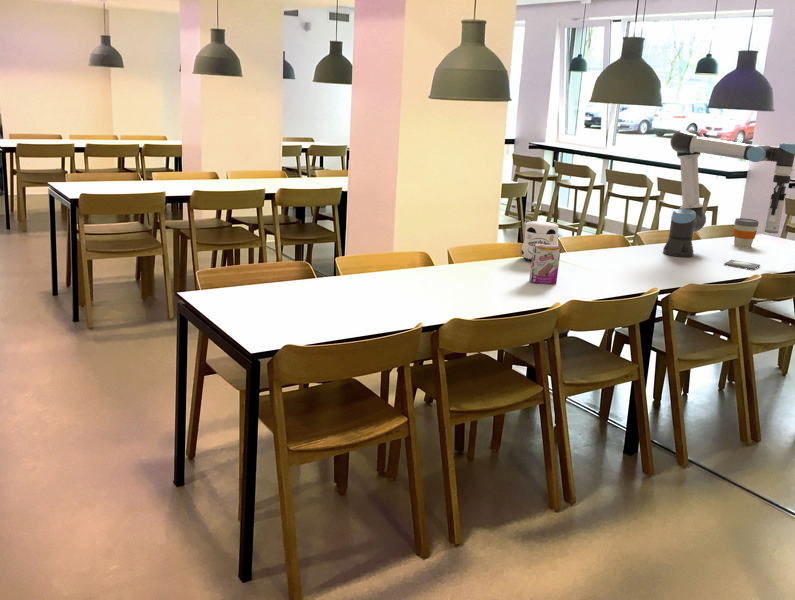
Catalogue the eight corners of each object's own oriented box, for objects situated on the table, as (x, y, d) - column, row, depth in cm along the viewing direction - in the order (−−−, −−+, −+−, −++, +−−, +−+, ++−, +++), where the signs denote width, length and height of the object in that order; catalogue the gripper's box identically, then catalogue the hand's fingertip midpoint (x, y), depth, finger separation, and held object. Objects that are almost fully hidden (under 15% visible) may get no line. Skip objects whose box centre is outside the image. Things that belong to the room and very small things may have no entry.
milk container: (532, 265, 362) (536, 227, 357) (514, 257, 378) (517, 221, 373) (563, 263, 369) (567, 227, 364) (544, 256, 384) (548, 220, 379)
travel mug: (777, 234, 383) (784, 194, 378) (763, 232, 387) (770, 192, 381) (779, 232, 388) (787, 193, 383) (765, 230, 392) (773, 191, 386)
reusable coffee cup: (725, 243, 444) (730, 218, 440) (743, 243, 448) (748, 218, 444) (741, 248, 433) (745, 222, 429) (759, 248, 437) (764, 222, 432)
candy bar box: (531, 283, 328) (535, 246, 323) (528, 280, 332) (532, 243, 328) (557, 284, 328) (561, 247, 324) (554, 281, 333) (558, 244, 328)
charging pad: (724, 265, 386) (724, 262, 386) (731, 261, 395) (731, 259, 395) (753, 270, 378) (753, 267, 377) (760, 266, 387) (760, 264, 386)
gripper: (786, 176, 370) (776, 223, 376) (795, 174, 385) (786, 220, 391) (769, 175, 374) (760, 221, 381) (779, 172, 389) (770, 217, 395)
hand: (773, 220), depth 386 cm, fingers closed on travel mug, 6 cm apart
